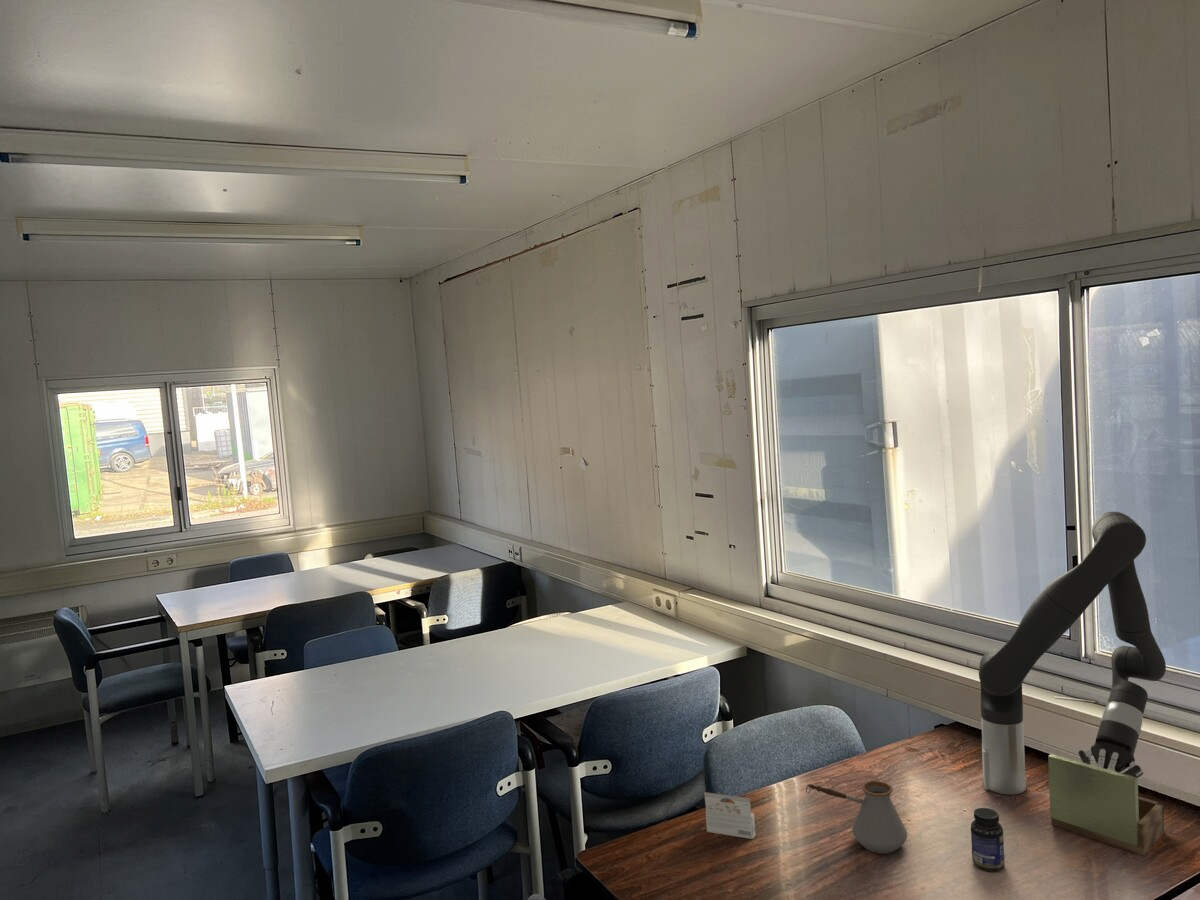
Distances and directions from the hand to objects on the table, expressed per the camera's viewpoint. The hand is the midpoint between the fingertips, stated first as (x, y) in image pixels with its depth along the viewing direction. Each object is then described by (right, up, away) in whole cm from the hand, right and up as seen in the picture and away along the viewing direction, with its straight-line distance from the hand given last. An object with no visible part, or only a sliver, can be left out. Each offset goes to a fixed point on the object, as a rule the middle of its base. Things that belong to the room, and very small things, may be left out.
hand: (1099, 800), depth 183 cm
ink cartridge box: (-78, -13, +12) cm, 80 cm away
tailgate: (-2, -6, -2) cm, 6 cm away
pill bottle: (-27, -11, -7) cm, 30 cm away
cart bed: (+3, -7, +3) cm, 8 cm away
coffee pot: (-51, -12, +3) cm, 53 cm away
